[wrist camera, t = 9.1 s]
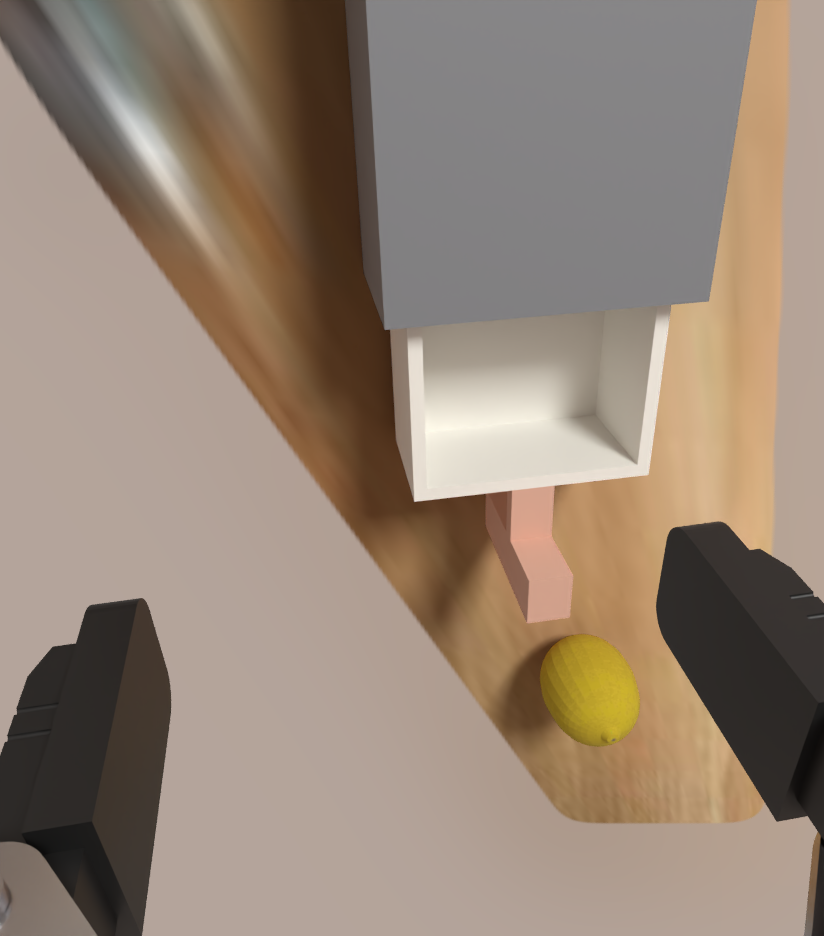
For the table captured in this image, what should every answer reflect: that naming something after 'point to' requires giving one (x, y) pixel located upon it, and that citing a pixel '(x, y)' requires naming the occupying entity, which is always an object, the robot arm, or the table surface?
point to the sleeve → (542, 152)
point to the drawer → (528, 423)
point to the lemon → (589, 690)
